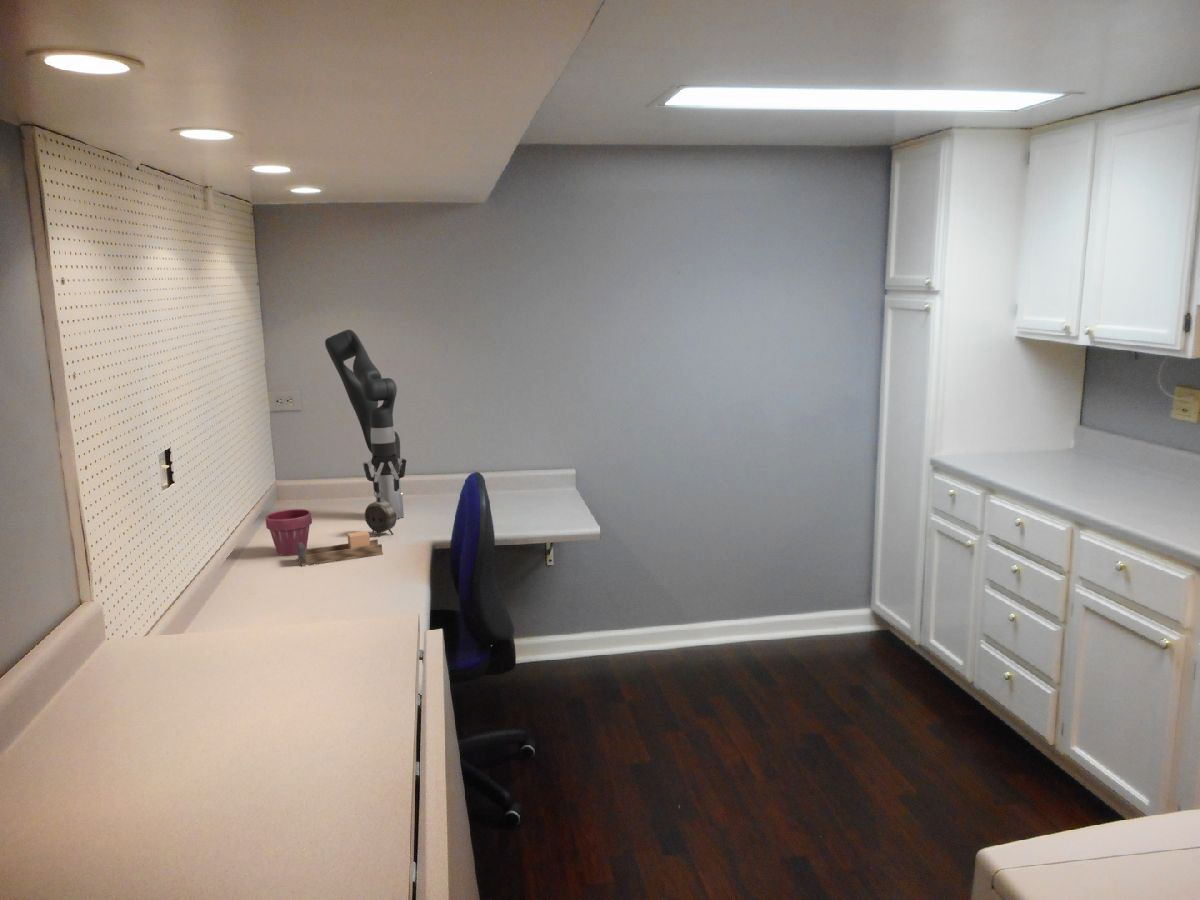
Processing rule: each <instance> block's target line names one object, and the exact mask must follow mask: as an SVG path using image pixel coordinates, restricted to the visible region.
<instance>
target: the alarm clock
mask: <svg viewBox="0 0 1200 900" xmlns="http://www.w3.org/2000/svg"><path fill="white" fill-rule="evenodd" d="M379 491H380V492H381V493H382V491H381V490H379ZM373 495H374V497H375V499H376V498H377V497H376V492H375V491H374V492H373ZM382 495H383V494H382ZM381 497H382V496H381ZM377 499H378V501H376V500H375V501H373V502H371V503H369V504H368V505H367V506H366V508H365V511H364V519H365V522H366V524H367V525H368V527H369V528H370V530H371V532H372V533H374V532H375V537H376V536H378V535H379V534H381V533H385V532H387V531H388V532H389V533H390V534H391V535H392V536H393V535H394V533H393V531H392V529H393V528H395V525H396V523H397V519H396V512H395V510H394V508H393V506H392V505H391V504H390V503H389V502H387V501H385V500H380V497H378V498H377Z"/></svg>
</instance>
